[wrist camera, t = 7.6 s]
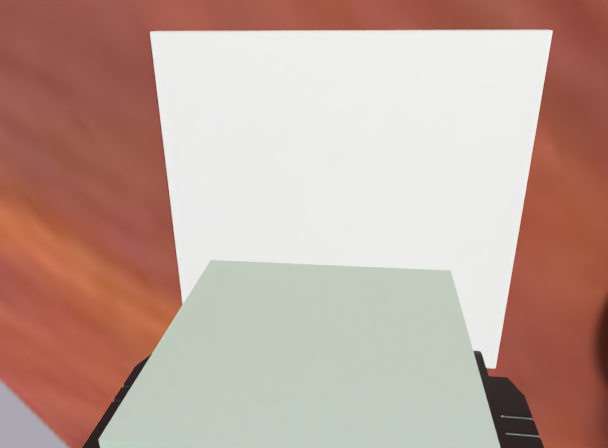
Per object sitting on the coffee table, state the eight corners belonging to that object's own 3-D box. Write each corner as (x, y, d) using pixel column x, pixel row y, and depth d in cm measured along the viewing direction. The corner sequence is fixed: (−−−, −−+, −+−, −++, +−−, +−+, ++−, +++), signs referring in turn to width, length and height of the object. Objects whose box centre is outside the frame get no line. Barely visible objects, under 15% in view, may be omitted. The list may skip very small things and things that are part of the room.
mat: (191, 341, 23) (187, 348, 23) (155, 30, 18) (149, 31, 18) (493, 360, 22) (495, 368, 21) (547, 29, 17) (553, 30, 16)
